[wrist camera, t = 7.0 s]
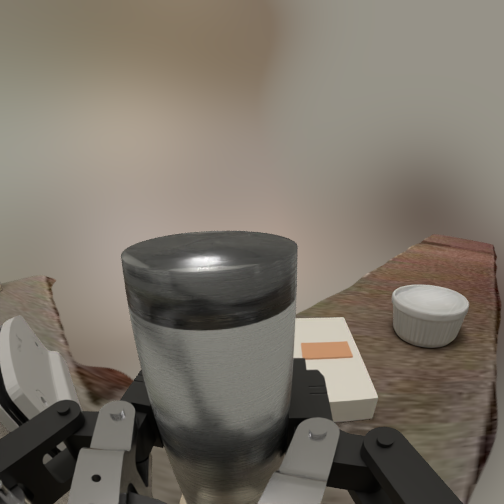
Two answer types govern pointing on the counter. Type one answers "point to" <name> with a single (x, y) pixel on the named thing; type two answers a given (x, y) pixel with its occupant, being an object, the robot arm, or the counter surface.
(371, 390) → the hole plate
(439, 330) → the ramekin
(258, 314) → the grey capped tube
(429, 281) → the counter surface
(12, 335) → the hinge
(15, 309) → the counter surface
